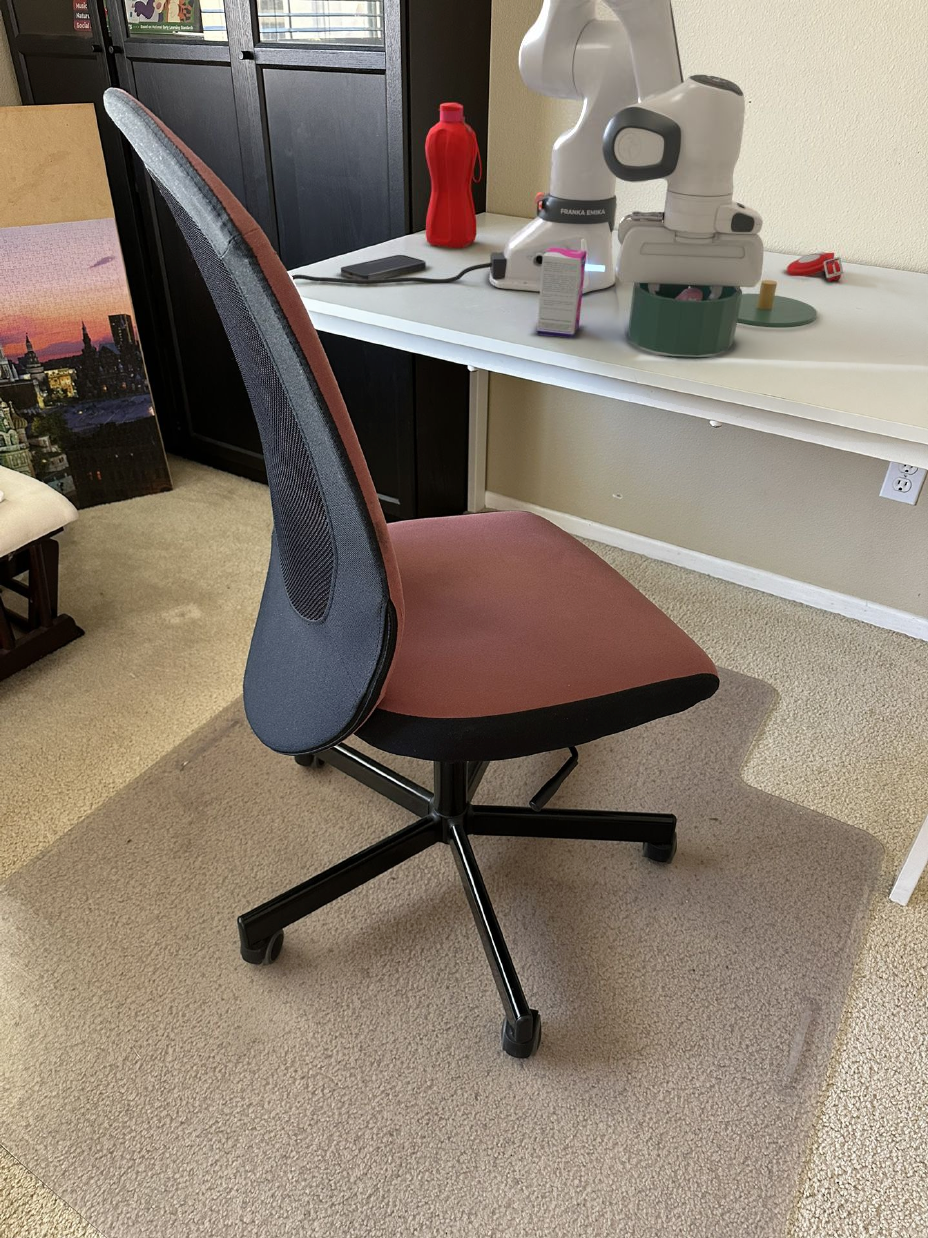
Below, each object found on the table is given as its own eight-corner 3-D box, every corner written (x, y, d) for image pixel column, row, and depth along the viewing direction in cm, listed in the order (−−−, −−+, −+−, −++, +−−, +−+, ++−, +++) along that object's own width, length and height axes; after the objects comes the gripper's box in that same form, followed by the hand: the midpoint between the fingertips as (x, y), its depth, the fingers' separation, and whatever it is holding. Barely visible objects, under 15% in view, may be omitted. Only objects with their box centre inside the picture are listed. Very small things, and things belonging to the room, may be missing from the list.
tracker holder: (775, 267, 166) (805, 245, 170) (779, 290, 168) (808, 268, 172) (837, 264, 157) (867, 241, 161) (839, 289, 159) (869, 265, 163)
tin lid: (719, 328, 140) (725, 294, 137) (705, 299, 153) (710, 267, 150) (826, 332, 138) (834, 298, 135) (802, 302, 152) (809, 270, 149)
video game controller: (681, 350, 130) (710, 307, 126) (654, 334, 129) (682, 290, 125) (682, 329, 138) (709, 288, 134) (657, 314, 137) (683, 272, 133)
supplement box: (574, 338, 135) (580, 258, 128) (535, 334, 136) (540, 255, 130) (580, 326, 140) (587, 249, 133) (543, 323, 141) (547, 246, 134)
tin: (631, 356, 129) (638, 299, 124) (625, 324, 141) (630, 271, 136) (739, 360, 128) (750, 303, 123) (723, 327, 140) (732, 274, 135)
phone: (428, 261, 167) (365, 275, 158) (428, 267, 167) (365, 282, 159) (400, 253, 171) (337, 267, 162) (400, 260, 172) (338, 273, 163)
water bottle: (469, 252, 178) (471, 107, 163) (420, 245, 182) (418, 103, 167) (488, 242, 185) (492, 102, 170) (441, 236, 189) (440, 99, 174)
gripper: (621, 215, 122) (610, 318, 130) (774, 220, 121) (754, 324, 129) (619, 206, 127) (608, 305, 135) (766, 211, 126) (747, 311, 134)
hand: (680, 314), depth 132 cm, fingers closed on video game controller, 5 cm apart
